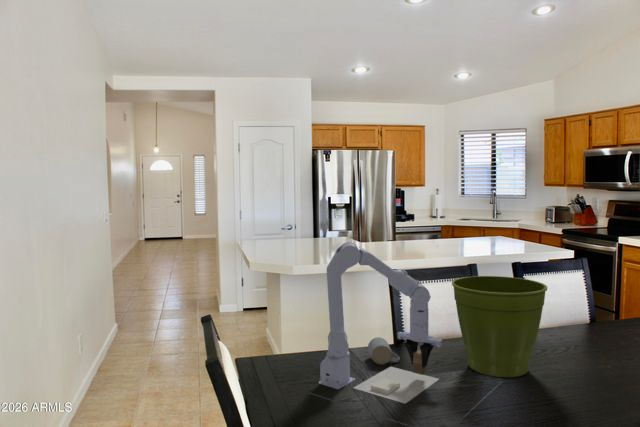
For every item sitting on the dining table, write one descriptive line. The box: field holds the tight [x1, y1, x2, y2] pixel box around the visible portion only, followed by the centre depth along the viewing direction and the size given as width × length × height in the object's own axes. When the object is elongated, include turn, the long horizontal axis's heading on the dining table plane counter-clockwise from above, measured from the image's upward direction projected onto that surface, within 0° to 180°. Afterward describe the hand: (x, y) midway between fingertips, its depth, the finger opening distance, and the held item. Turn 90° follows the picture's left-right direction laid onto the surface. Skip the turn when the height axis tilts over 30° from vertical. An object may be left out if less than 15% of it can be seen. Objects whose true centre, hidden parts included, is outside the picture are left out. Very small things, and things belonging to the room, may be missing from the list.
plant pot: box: [451, 275, 548, 378], centre depth 166 cm, size 30×30×29 cm
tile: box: [371, 378, 400, 394], centre depth 151 cm, size 1×6×7 cm
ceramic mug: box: [367, 336, 401, 366], centre depth 174 cm, size 11×8×8 cm
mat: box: [353, 366, 440, 405], centre depth 154 cm, size 22×18×1 cm
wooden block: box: [412, 349, 427, 375], centre depth 157 cm, size 3×3×6 cm
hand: (419, 364), depth 157 cm, fingers closed on wooden block, 3 cm apart
